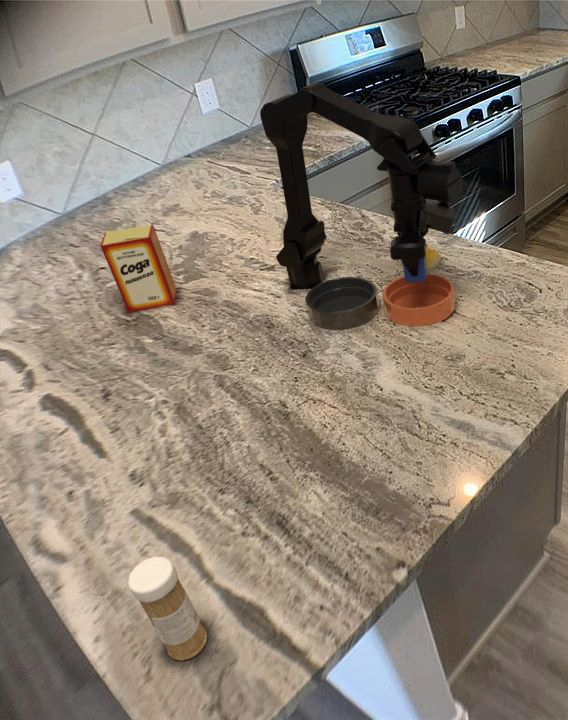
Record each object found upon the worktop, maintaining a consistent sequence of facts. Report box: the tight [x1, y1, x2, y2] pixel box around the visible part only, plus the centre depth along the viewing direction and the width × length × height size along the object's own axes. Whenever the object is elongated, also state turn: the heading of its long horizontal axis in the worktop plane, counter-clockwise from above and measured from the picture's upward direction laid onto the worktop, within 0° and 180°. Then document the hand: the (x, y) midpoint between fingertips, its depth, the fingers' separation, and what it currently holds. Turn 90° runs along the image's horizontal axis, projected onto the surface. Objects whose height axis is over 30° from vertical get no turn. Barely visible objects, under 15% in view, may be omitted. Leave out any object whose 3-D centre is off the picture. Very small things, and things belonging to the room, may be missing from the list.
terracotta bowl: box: [382, 272, 456, 327], centre depth 133 cm, size 14×14×4 cm
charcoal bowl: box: [304, 276, 380, 331], centre depth 134 cm, size 14×14×4 cm
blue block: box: [402, 257, 428, 282], centre depth 129 cm, size 4×4×4 cm
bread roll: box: [401, 245, 441, 271], centre depth 150 cm, size 8×9×4 cm
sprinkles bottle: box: [127, 556, 208, 662], centre depth 73 cm, size 5×5×13 cm
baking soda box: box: [100, 224, 177, 313], centre depth 139 cm, size 10×6×16 cm
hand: (415, 270), depth 129 cm, fingers closed on blue block, 4 cm apart
